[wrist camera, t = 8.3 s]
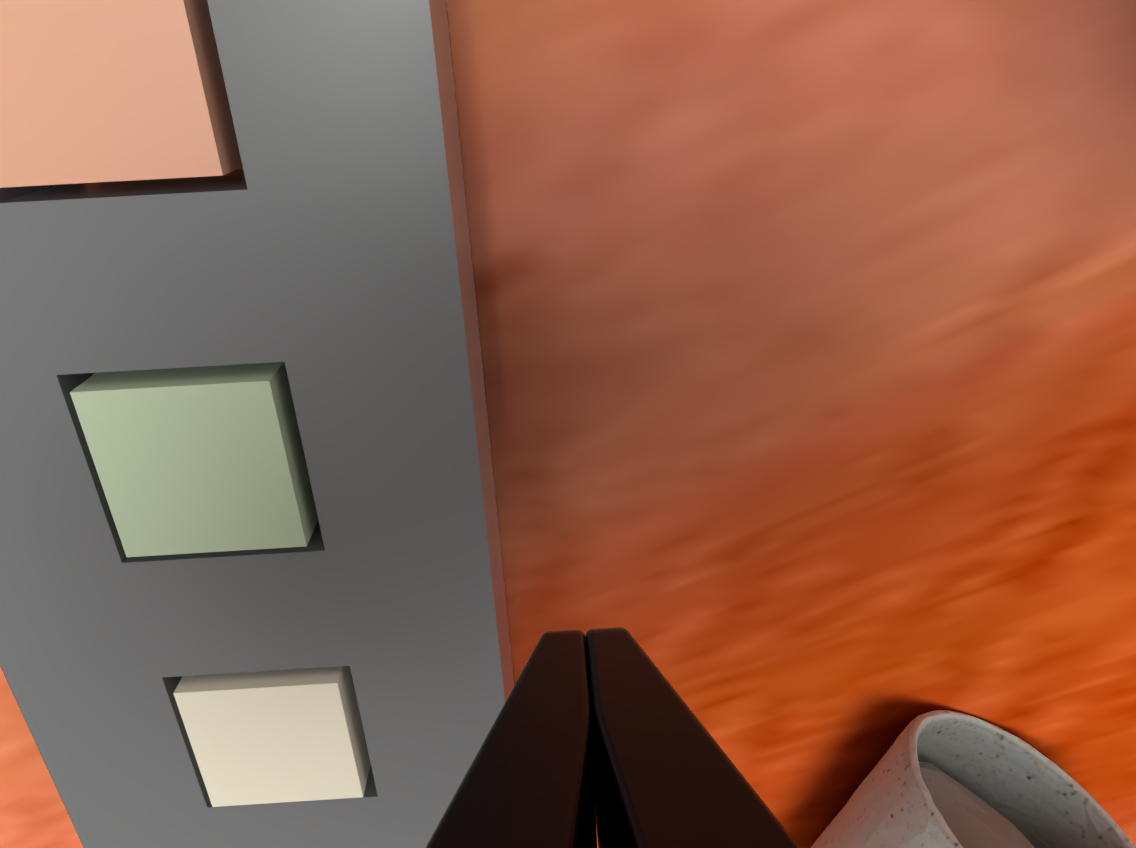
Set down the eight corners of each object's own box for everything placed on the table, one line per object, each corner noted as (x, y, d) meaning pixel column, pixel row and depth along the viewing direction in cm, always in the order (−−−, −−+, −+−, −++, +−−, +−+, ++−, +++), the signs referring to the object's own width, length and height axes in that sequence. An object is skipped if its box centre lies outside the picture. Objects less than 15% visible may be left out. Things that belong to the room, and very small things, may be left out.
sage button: (302, 339, 18) (269, 380, 16) (332, 490, 20) (306, 546, 18) (127, 349, 18) (70, 392, 16) (172, 499, 20) (126, 557, 18)
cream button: (358, 616, 22) (337, 683, 20) (379, 725, 24) (362, 797, 21) (210, 625, 22) (173, 693, 20) (243, 733, 24) (212, 806, 21)
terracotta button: (219, -67, 15) (163, -87, 13) (265, 157, 17) (223, 175, 14) (4, -56, 15) (-91, -73, 13) (71, 168, 17) (-1, 187, 14)
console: (419, -268, 14) (392, -340, 12) (522, 768, 26) (521, 854, 23) (-258, -236, 14) (-445, -301, 11) (146, 792, 25) (99, 882, 23)
